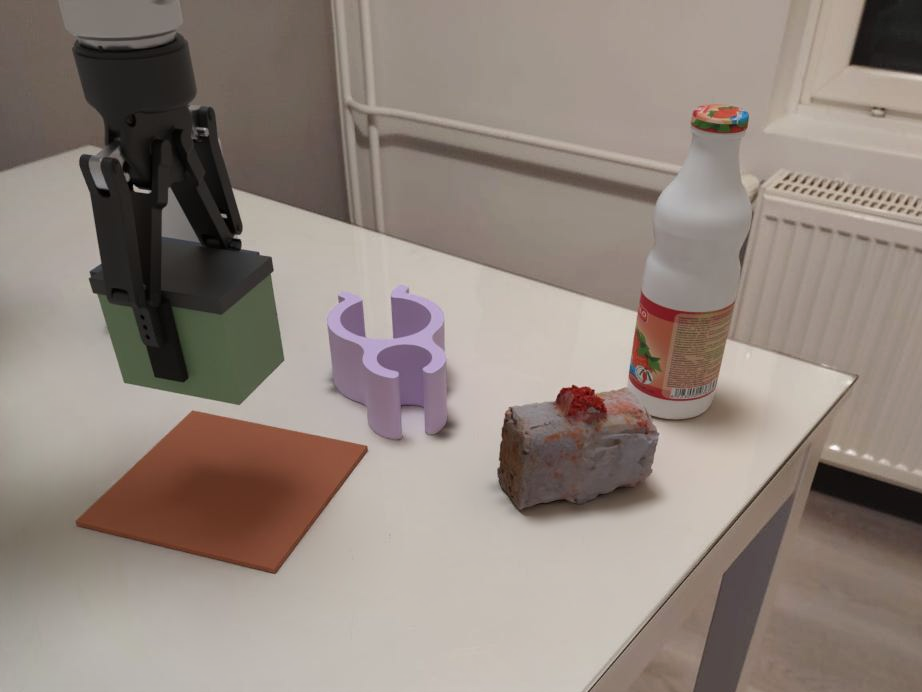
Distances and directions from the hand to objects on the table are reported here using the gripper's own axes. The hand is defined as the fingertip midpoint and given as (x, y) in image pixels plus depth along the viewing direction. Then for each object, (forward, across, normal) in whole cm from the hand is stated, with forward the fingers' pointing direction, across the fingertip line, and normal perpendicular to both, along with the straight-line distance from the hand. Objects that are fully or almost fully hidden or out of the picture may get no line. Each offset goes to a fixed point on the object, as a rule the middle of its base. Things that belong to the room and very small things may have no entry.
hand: (200, 351), depth 76 cm
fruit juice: (+14, +30, -37) cm, 50 cm away
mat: (+14, 0, 0) cm, 14 cm away
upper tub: (+2, 0, 0) cm, 2 cm away
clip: (+14, +22, -8) cm, 27 cm away
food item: (+14, +11, -31) cm, 36 cm away
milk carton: (+14, +43, +28) cm, 53 cm away
